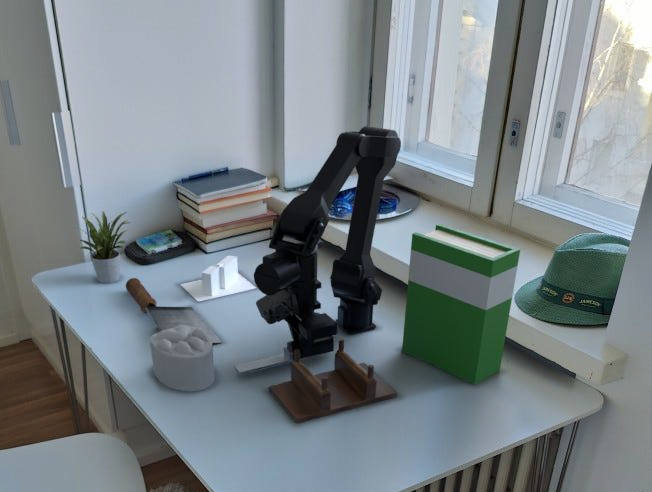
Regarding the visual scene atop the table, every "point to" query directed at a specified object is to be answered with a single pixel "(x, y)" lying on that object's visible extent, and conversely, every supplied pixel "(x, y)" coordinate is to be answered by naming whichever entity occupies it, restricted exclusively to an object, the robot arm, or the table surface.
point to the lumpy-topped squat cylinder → (183, 358)
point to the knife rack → (330, 388)
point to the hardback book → (459, 301)
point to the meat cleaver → (166, 311)
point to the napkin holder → (218, 281)
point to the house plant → (105, 249)
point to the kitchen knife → (288, 355)
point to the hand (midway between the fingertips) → (301, 351)
